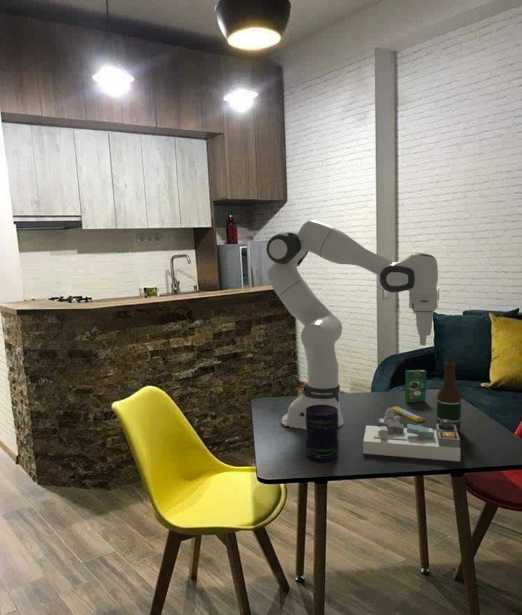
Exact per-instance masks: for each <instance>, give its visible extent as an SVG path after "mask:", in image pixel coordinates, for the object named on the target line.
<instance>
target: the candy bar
mask: <svg viewBox="0 0 522 615" xmlns="http://www.w3.org/2000/svg"><path fill="white" fill-rule="evenodd" d="M390 409H392V410H393V411H394V412H395V414H398V415H400V414H401V415H400V416H402V415H403V417H404V416H405V417H404V418H407V419H409V420H411V421H414V423H415V422H416V423H421V422H425V421H426V420H427V419H426V417H421V416H419V415H417V414H414V413H412V412H409V411H408V410H406V409H404V408H401V407H400V406H398V405H397V406H396V405H395V406H392V407H390Z"/></svg>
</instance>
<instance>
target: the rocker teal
mask: <svg viewBox="0 0 522 615" xmlns="http://www.w3.org/2000/svg"><path fill="white" fill-rule="evenodd" d="M417 425H418V424H417ZM417 425H415V424H411V423H407V424H406V428H407V433H412V434H416V435H418V431H423V436H426V437H430V438H434V430H435V429H434V428H430V427H426V426H423V427H422V426H417Z"/></svg>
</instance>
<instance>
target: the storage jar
mask: <svg viewBox="0 0 522 615" xmlns="http://www.w3.org/2000/svg"><path fill="white" fill-rule="evenodd" d="M337 413H338V409H337V408H336V407H334V406H330V405H313V406H309V407H307V408H306V428H307V429H306V439H305V440H306V441H305V444H306V445H305V449H306V458H307V460H308V461H310V462H312V463H316V464H331V463H335V462H336V461H337V460H338V459H339V449H340V448H339V443H340V442H339V438H338V428H339V427H338V414H337Z"/></svg>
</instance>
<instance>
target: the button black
mask: <svg viewBox="0 0 522 615" xmlns="http://www.w3.org/2000/svg"><path fill="white" fill-rule="evenodd" d="M440 428H441V429H442V430H452V429H453V421H452V420H449V419H441V422H440Z"/></svg>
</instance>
